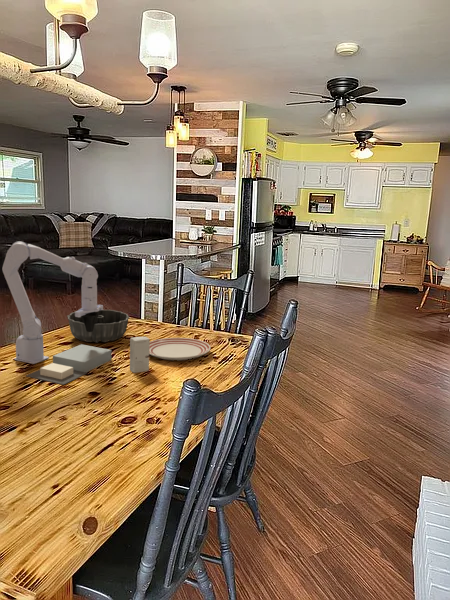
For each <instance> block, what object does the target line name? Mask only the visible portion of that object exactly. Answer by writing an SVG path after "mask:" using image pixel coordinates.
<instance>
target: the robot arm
mask: <svg viewBox="0 0 450 600" xmlns="http://www.w3.org/2000/svg"><path fill="white" fill-rule="evenodd" d="M28 258H29V259H30V260H35V259H36V260H37V259H40V260H43V261H46V262H48V263H50V264H53V265H56V266H58V267H60V269H61V271H62V272H64V273H66V274H69V275H72V276H74V277H77V278H82V279H81V308H79V309H78V310H76V311H74V312H75V317H81V318H82V320H83V322H84V324H85V327H86V331H87V332H93V329H94V325H95V322H96V319H97V317H98V316H99V313H96V312H98V311H99V310H104V305H103V304H98V285H97V283H98V278H99V274H98V271H97V270H96V268H95V266H92V265H91V264H88V262H82V261H79V260H77V259H76V257H74V256H66V257H61V256H59V255H57V254H55V253H53V252H51V251H48V250H46V249H44V248H41V247H40V246H37V245H35V244H31V243H27V242H24V241H15V242H13V243H12V244H11V246H10V247H9V248H8V250H7V252H6V254H5V258H4V261H3V264H2V273H3V275H4V278H5V280H6V284H7V286H8V288H9V290H10V293H11V296H12V298H13V300H14V303H15V306H16V308H17V311H18V314H19V316H20V319H21V323H22V327H23V328H22V334H21V335H19V336H18V337H17V338H16V341H15V358H14V361H18V362H23V363H28V364H32V365H35V364H37V363H40V362H43V361H44V360H45V361H46V360H48V359H50V358H49V356H47V355H45V354H44V334H43V333H42V321H41V320H40V319H39V318H38V317H37V316H36V313H35V311H34V310H33V307H32V304H31V302H30V299H29V297H28V294H27V291H26V289H25V287H24V284H23V281H22V279H21V275H20V273H19V271H18V270H19V269H20V267H21V265H22V264H23V263H24V262H25V261H27V259H28Z"/></svg>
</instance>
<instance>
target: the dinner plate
mask: <svg viewBox="0 0 450 600" xmlns="http://www.w3.org/2000/svg"><path fill="white" fill-rule="evenodd" d="M210 351H211V345H210V344H209V343H208V342H206V341H203V340H200V339H196V338H195V339H194V338H189V337H167V338H159V339H155V340H151V341H150V345H149V356H152V357H156V358H159V359H161V360H166V361H167V360H168V361H174V360H177V361H178V362H179V361H187V360H188V359H189V360H191V359H192V358H193V359H197V358H199V357H201V356H204V355H206V354H208V353H209V352H210ZM193 359H192V360H193Z"/></svg>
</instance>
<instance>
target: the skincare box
mask: <svg viewBox="0 0 450 600" xmlns="http://www.w3.org/2000/svg"><path fill="white" fill-rule="evenodd" d="M150 342H151V341H150V338H149V337H148V336H136V337H130V340H129V370H130V371H131V372H132V373H133V374H134V373H135V374H136V373H142V372H149V370H150V354H149V345H150Z"/></svg>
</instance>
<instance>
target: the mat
mask: <svg viewBox="0 0 450 600" xmlns="http://www.w3.org/2000/svg"><path fill="white" fill-rule="evenodd" d="M87 374H88V372H81V371H76V370H73V374H72V375H70V376H68V377H66V378H64V379H57V378H53V377H48V376H44V375H40V369H37V370H35V371H33V372H31V373H29V374H26V375H25V377H27V378H30V379H35V380H40V381H43V382H44V381H45V382H47V383H52V384H53V383H54V384H57V385H62V386H65V385H66V384H68V383H71V382H73V381H74V380H77V379H78V378H82V377H83V376H85V375H87Z"/></svg>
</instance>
